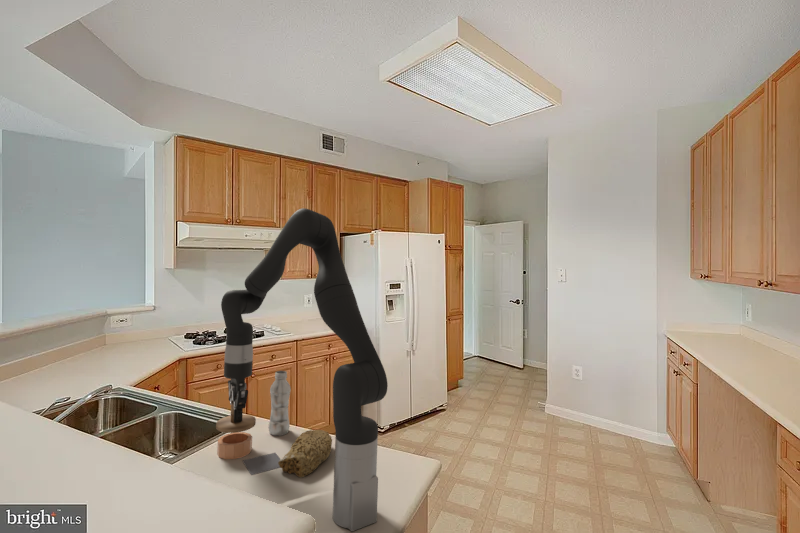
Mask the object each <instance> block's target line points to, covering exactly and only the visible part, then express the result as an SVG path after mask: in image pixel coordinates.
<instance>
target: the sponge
mask: <svg viewBox="0 0 800 533" xmlns="http://www.w3.org/2000/svg"><path fill="white" fill-rule="evenodd" d="M332 443H333V439H332V436H331V435H330V433H328V432H327V431H325V430H323V429H313V430H312V429H311V430H310V429H309V430H306V431H305V432H302V433H301V434H299V436H297V438H296V439H295V442H293V443H292V445H291V447H290V449H289V451H288V452H287V453H285V454H284V456H283V457H282V458H280V460H279V462H278V464H279V466H280V468H279V469H281V470H282V472H285V473H288V474H289V475H292V474H295V476H298V478H305V476H308V475H309V474H312V473H313V472H314V471H315V470H316V469H317V468H318V467H319V465H321V464H322V463H323V462H324V461H326V460H327V459H328V458H329V457H330V455H331V452H332V445H333V444H332Z"/></svg>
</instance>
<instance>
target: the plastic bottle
mask: <svg viewBox="0 0 800 533" xmlns="http://www.w3.org/2000/svg"><path fill="white" fill-rule="evenodd" d="M274 374H275V375H274V379H275V380H274V381H273V382H272V384H271V385H270V389H269V392H270V393H269V394H270V405H271V406H270V407H271V408H270V409H271V410H270V418H269V422H268V431H269V432H268V433H269V434H270V435H271V436H274V437H279V436H285V435H286V434H287V435H288V432H289V431H290V419H289V404H290V401H289V400H290V395H291V385H290V383H289V382H288V380H287V378H288V373H287V371H286V370H278V371H277V370H276V371H275V373H274Z"/></svg>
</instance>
